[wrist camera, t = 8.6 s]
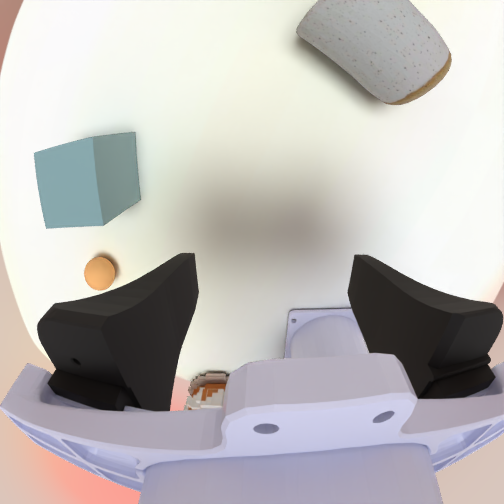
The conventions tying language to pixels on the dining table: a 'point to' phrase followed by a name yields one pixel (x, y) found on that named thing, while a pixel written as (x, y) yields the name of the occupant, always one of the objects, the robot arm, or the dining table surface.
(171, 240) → the dining table surface
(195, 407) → the caramel apple
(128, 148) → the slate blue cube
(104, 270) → the orange ball
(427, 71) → the ceramic mug
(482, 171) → the dining table surface
